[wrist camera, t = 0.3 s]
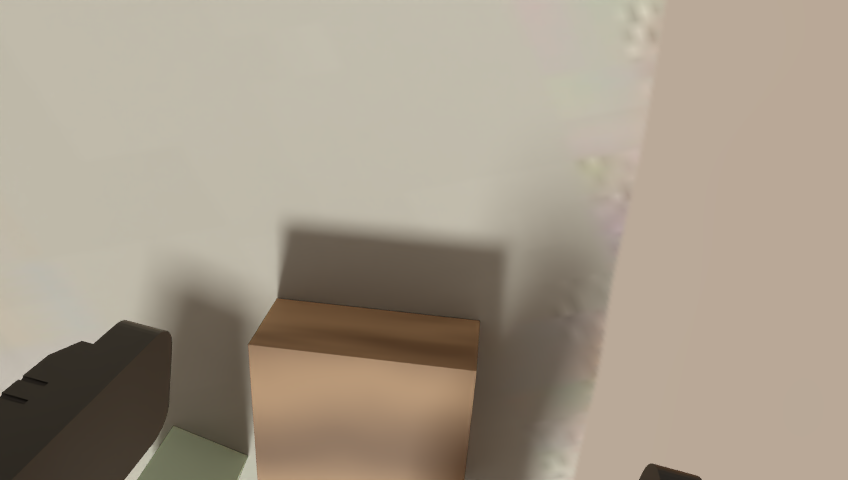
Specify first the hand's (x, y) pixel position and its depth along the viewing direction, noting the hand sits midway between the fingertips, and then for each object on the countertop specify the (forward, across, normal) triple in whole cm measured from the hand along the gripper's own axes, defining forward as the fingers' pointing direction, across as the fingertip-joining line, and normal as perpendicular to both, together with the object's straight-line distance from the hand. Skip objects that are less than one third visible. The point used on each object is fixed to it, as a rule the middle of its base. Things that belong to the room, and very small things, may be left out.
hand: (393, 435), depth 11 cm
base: (+19, +2, +14) cm, 24 cm away
